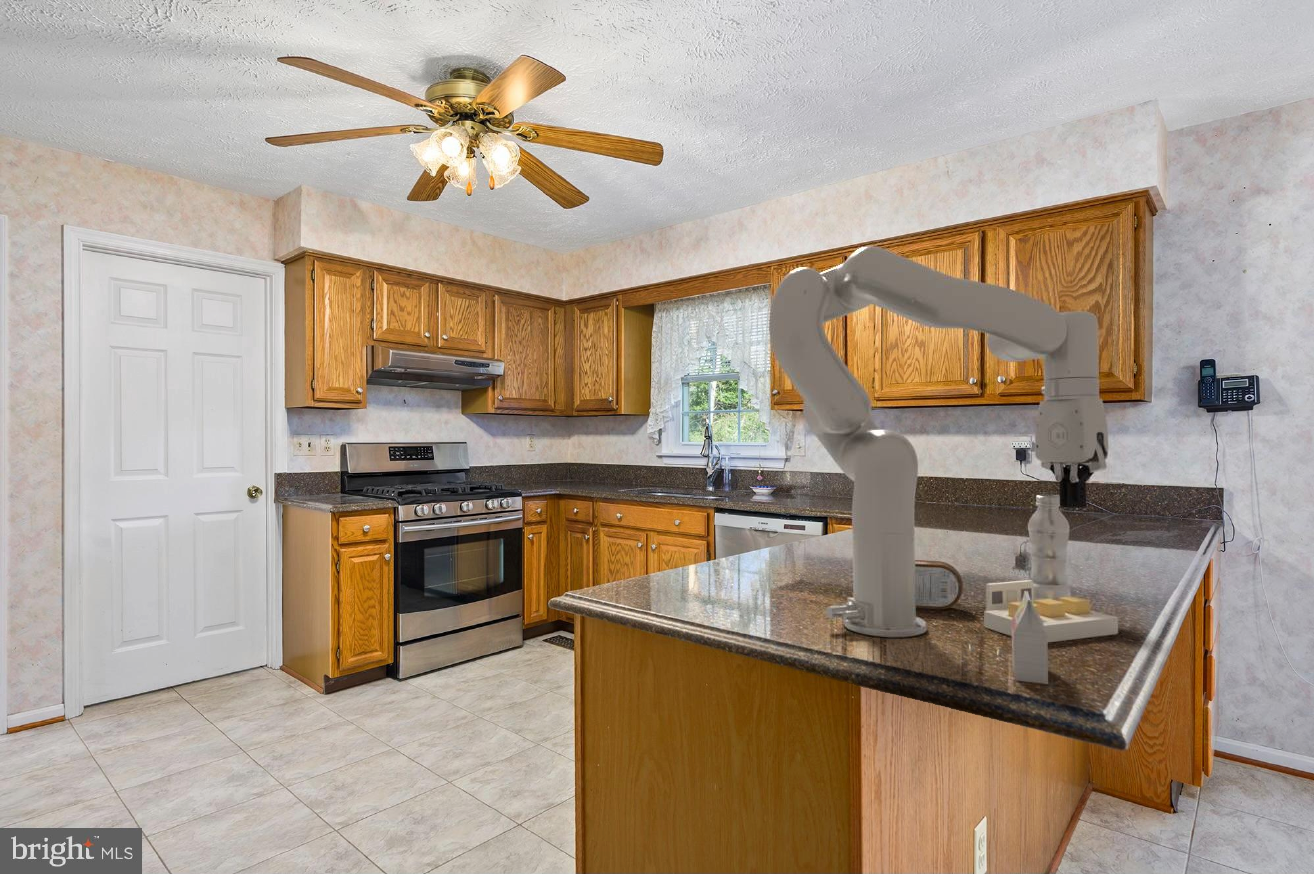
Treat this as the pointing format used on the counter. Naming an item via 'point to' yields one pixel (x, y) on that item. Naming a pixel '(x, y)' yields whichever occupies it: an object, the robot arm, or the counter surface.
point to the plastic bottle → (1049, 549)
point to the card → (1006, 593)
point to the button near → (1014, 606)
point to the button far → (1076, 605)
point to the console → (1059, 625)
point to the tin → (937, 585)
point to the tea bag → (1029, 644)
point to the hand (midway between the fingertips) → (1072, 506)
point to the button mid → (1050, 608)
